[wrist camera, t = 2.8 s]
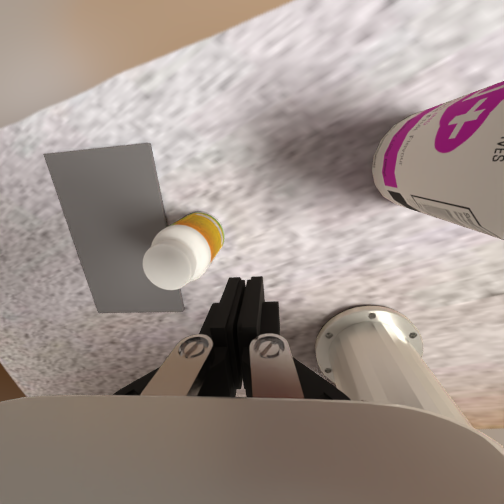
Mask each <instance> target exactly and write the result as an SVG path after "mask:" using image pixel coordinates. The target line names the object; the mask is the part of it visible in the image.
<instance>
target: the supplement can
mask: <svg viewBox="0 0 504 504" xmlns="http://www.w3.org/2000/svg"><path fill="white" fill-rule="evenodd" d="M372 174H373V178H374V183H375V186H376V187H377V189H378V190H379V192H380V193H381V194H382V196H383V197H384V198H386V199H388V200H390V201H391V202H393V203H395V204H397V205H400V206H403V207H406V208H409V209H412V210H415V211H418V212H421V213H424V214H427V215H430V216H433V217H436V218H439V219H442V220H445V221H448V222H451V223H454V224H457V225H460V226H463V227H466V228H469V229H472V230H475V231H479V232H482V233H485V234H488V235H491V236H494V237H497V238H500V239H503V240H504V81H503V82H500V83H497V84H495V85H492V86H489V87H486V88H484V89H481V90H478V91H476V92H473V93H470V94H468V95H465V96H462V97H459V98H457V99H454V100H451V101H449V102H446V103H443V104H440V105H438V106H435V107H432V108H430V109H427V110H424V111H422V112H419V113H416V114H413V115H411V116H409V117H407V118H406V119H404V120H402V121H401V122H399V123H397V124H396V125H394V126H393V127H392V128H391V129H390V131H389V132H388V133H387V134H386V135H385V136H384V137H383V138H382V139H381V142H380V144H379V146H378V148H377V150H376V152H375V154H374V159H373V166H372Z"/></svg>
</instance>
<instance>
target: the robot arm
mask: <svg viewBox="0 0 504 504" xmlns="http://www.w3.org/2000/svg"><path fill="white" fill-rule="evenodd" d="M315 353H316V359H317V363H318V365H319V367H320V369H321V371H322V372H323V373H324V375H325V376H326V377H327V378H328V379H330V380H331V381H332V382H334V383H335V384H336V387H337V388H336V387H335V386H333V385H332V384H330V383H329V382H327V381H326V380H325V379H323V378H322V377H320V376H319V375H317V374H316V373H315V372H313V371H312V370H310V369H309V368H307V367H306V366H305V365H303V364H302V363H300V362H299V361H297V360H296V359H295V358H293V357H292V354H291V350H290V347H289V344H288V342H287V340H286V339H285V338H283V337H282V336H280V321H279V303H278V302H265V300H264V287H263V277H262V276H261V277H251V280H247V284H246V286H245V280H241V278H240V277H234V278H229V280H228V282H227V285H226V287H225V290H224V292H223V295H222V298H221V300H220V303H213V304H212V306H211V308H210V310H209V313H208V315H207V317H206V319H205V322H204V324H203V326H202V329H201V331H200V333H199V334H195V335H191V336H188V337H186V338H184V339H183V340H181V341H180V342H179V343H178V344H177V345H176V347H175V348H174V349H173V351H172V352H171V353H170V355H169V356H168V357H167V359H166V360H165V361H164V363H163V364H162V366H161V367H159V368H157V369H156V370H154V371H152V372H150V373H149V374H147V375H145V376H143V377H141V378H140V379H138V380H136V381H134V382H133V383H131V384H129V385H127V386H126V387H124V388H122V389H120V390H119V391H118V392H116V393H115V394H113V395H46V396H32V397H23V398H18V399H12V400H8V401H2V402H0V504H504V447H503V446H502V445H500V444H499V443H498V442H497V441H495V440H494V439H492V438H490V437H489V436H487V435H486V434H484V433H482V432H481V431H479V430H477V429H474V428H473V426H472V425H471V424H470V422H469V421H468V420H467V418H466V417H465V416H464V414H463V413H462V411H461V410H460V409H459V407H458V406H457V405H456V403H455V402H454V401H453V399H452V398H451V397H450V395H449V394H448V393H447V391H446V390H445V389H444V387H443V386H442V385H441V383H440V382H439V381H438V379H437V378H436V377H435V375H434V374H433V373H432V371H431V370H430V369H429V367H428V366H427V365H426V363H425V362H424V361H423V359H422V355H423V341H422V337H421V335H420V333H419V331H418V329H417V328H416V327H415V326H414V324H413V323H412V322H411V321H410V320H409V319H408V318H407V317H406V316H404V315H402V314H401V313H399V312H398V311H395V310H392V309H390V308H386V307H381V306H361V307H355V308H352V309H349V310H346V311H344V312H342V313H340V314H337V315H336V316H335V317H333V318H332V319H330V320H329V321H328V322H327V323H326V324H325V325H324V326H323V328H322V329H321V331H320V332H319V334H318V337H317V339H316V344H315ZM242 379H243V383H244V389H246V396H247V397H235V396H236V390H237V389H241V386H242Z"/></svg>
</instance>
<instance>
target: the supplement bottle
mask: <svg viewBox="0 0 504 504" xmlns="http://www.w3.org/2000/svg"><path fill="white" fill-rule="evenodd" d="M224 239H225V234H224V229H223V227H222V225H221V223H220V222H219V221H218V220H217V219H216V218H215V217H214V216H212V215H210V214H208V213H205V212H195V213H191V214H189V215H187V216H185V217H184V218H182V219H180V220H179V221H177V222H175V223H173V224H172V225H170V226H168V227H166V228H165V229H163V230H161V231H160V232H159V233H158V234H157V235H156V236H155V238H154V239H153V241H152V245H151V247H150V248H149V249H148V250H147V251H146V253H145V255H144V257H143V269H144V272H145V274H146V276H147V278H148V279H149V280H150V281H151V282H152V283H153V284H154V285H156V286H157V287H159V288H162V289H165V290H177V289H180V288H182V287H183V286H185V285H186V284H187V283H188V282H191V281H194V280H196V279H198V278H200V277H201V276H202V275H203V274H204V273H205V272H206V270H207V269H208V267H209V266H210V264H211V263H212V261H213V260H214V259H215V257H216V256H217V254H218V253H219V251H220V250H221V248H222V246H223V244H224Z"/></svg>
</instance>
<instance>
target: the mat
mask: <svg viewBox="0 0 504 504" xmlns="http://www.w3.org/2000/svg"><path fill="white" fill-rule="evenodd" d="M44 157H45V159H46V162H47V165H48V168H49V171H50V174H51V177H52V180H53V183H54V186H55V189H56V191H57V194H58V197H59V200H60V203H61V206H62V209H63V212H64V215H65V218H66V221H67V223H68V226H69V229H70V232H71V235H72V238H73V241H74V244H75V247H76V250H77V252H78V255H79V258H80V261H81V264H82V267H83V270H84V273H85V276H86V279H87V282H88V284H89V287H90V290H91V293H92V296H93V299H94V302H95V305H96V308H97V311H98V313H131V312H183V311H184V310H185V309H184V304H183V299H182V294H181V290H180V289H177V290H165V289H162V288H159V287H157V286H156V285H154V284H153V283H152V282H151V281H150V280H149V279H148V278H147V276H146V274H145V272H144V269H143V257H144V255H145V253H146V251H147V250H148V249H149V248H150V247H151V245H152V241H153V239H154V238H155V236H156V235H157V234H158V233H159V232H160V231H161V230H163V229H165V228H166V227H168V226H167V221H166V216H165V211H164V206H163V201H162V197H161V192H160V187H159V182H158V177H157V172H156V167H155V162H154V157H153V152H152V148H151V144H150V143H145V144H135V145H126V146H116V147H107V148H98V149H88V150H79V151H69V152H60V153H51V154H44Z"/></svg>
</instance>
